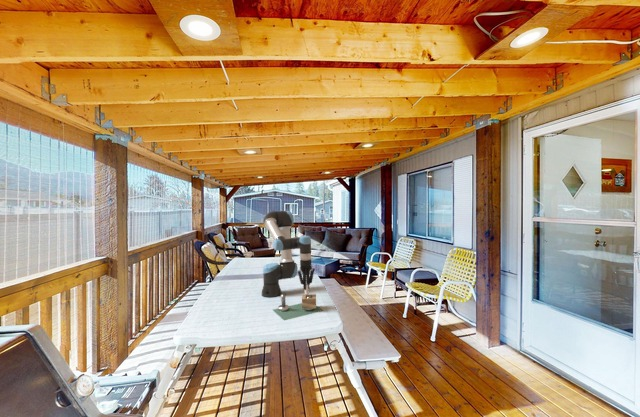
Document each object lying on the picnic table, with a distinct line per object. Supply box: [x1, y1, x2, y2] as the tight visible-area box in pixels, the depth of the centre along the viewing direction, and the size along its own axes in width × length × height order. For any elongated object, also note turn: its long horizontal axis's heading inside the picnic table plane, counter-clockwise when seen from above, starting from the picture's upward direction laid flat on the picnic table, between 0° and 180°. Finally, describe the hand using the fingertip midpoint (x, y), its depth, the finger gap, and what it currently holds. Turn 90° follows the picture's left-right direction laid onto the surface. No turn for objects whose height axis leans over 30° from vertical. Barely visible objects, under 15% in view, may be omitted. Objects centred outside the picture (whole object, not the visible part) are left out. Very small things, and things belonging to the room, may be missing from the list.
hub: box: [303, 296, 315, 311], centre depth 191 cm, size 8×8×8 cm
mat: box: [272, 302, 324, 321], centre depth 190 cm, size 20×28×1 cm
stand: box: [277, 293, 290, 312], centre depth 191 cm, size 7×7×10 cm
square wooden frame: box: [301, 293, 317, 308], centre depth 191 cm, size 9×9×6 cm
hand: (306, 294), depth 194 cm, fingers closed
